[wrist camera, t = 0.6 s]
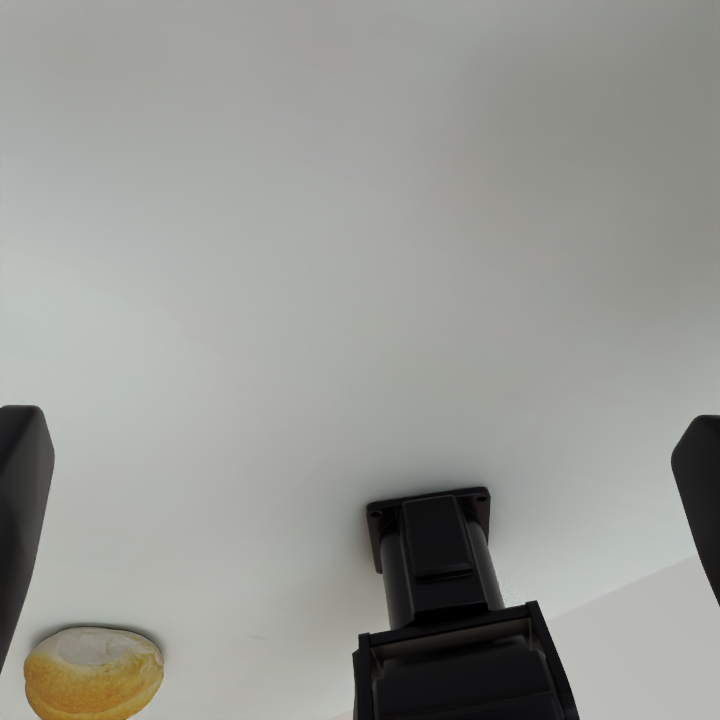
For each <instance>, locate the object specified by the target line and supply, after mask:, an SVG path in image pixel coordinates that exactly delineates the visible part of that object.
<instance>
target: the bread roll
mask: <svg viewBox="0 0 720 720" xmlns="http://www.w3.org/2000/svg"><path fill="white" fill-rule="evenodd" d="M163 664H164V661H163V657H162V655H161V653H160V651H159V650H158V648H157V647H156V645H155V644H154V643H152V642H151V641H149V640H148V639H146V638H144V637H143V636H140V635H138V634H136V633H133V632H128V631H122V630H112V629H106V628H99V627H78V628H70V629H67V630H62V631H60V632H58V633H56V634H54V635H52V636H50V637H49V638H47V639H45V640H43V641H42V642H40V643H39V644H38V645H37V646H36V647H35V648H34V649H33V650H32V651H31V653H30V654H29V655H28V657H27V658H26V660H25V662H24V677H25V680H26V683H25V692H26V697H27V699H28V702H29V704H30V706H31V707H32V709H33V710H34V712H35V713H36V714H37V715H38V716H39V717H40V718H41V719H42V720H126V719H127V718H129V717H130V716H132V715H134V714H136V713H137V712H139V711H140V710H142V709H143V708H144V707H145V706H146V705H147V704H148V703H149V702H150V700H151V699H152V698H153V696H154V695H155V693H156V692H157V690H158V689H159V687H160V685H161V682H162V679H163Z"/></svg>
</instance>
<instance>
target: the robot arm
mask: <svg viewBox="0 0 720 720" xmlns="http://www.w3.org/2000/svg"><path fill="white" fill-rule="evenodd" d="M54 461H55V455H54V448H53V444H52V441H51V437H50V434H49V430H48V427H47V424H46V420H45V417H44V414H43V411H42V410H41V409H40V408H39V407H38V406H34V405H6V406H3V407H1V408H0V674H1V671H2V668H3V665H4V662H5V659H6V656H7V653H8V650H9V647H10V643H11V640H12V637H13V634H14V631H15V628H16V625H17V622H18V619H19V616H20V613H21V610H22V607H23V604H24V601H25V598H26V595H27V591H28V588H29V584H30V581H31V578H32V573H33V569H34V564H35V560H36V555H37V550H38V545H39V540H40V535H41V530H42V525H43V520H44V515H45V509H46V504H47V499H48V494H49V489H50V484H51V479H52V474H53V469H54ZM671 466H672V471H673V474H674V477H675V480H676V484H677V487H678V490H679V493H680V496H681V500H682V503H683V506H684V509H685V513H686V516H687V519H688V522H689V526H690V529H691V532H692V535H693V539H694V542H695V545H696V548H697V551H698V554H699V557H700V560H701V563H702V565H703V567H704V570H705V573H706V575H707V578H708V580H709V582H710V585H711V587H712V590H713V592H714V594H715V597H716V599H717V601H718V604H719V606H720V415H700V416H698V417H696V418H695V419H694V420H693V421H692V422H691V424H690V425H689V427H688V428H687V430H686V431H685V433H684V434H683V436H682V438H681V439H680V441H679V442H678V444H677V445H676V447H675V448H674V450H673V452H672V456H671ZM490 499H491V497H490V494H489V491H488V489H487V488H485V487H476V488H469V489H463V490H456V491H449V492H442V493H435V494H429V495H422V496H415V497H408V498H401V499H395V500H388V501H381V502H374V503H371V504H369V505H368V506H367V507H366V516H367V522H368V528H369V533H370V539H371V545H372V551H373V557H374V562H375V568H376V572H377V573H379V574H383V578H384V586H385V593H386V600H387V607H388V615H389V622H390V629H391V630H390V631H384V632H379V633H374V634H370V633H363V634H359V635H358V639H359V649H358V650H356V651H355V652H354V653H352V656H353V667H354V679H355V698H354V711H353V720H580V719H579V715H578V711H577V708H576V704H575V700H574V697H573V694H572V691H571V688H570V685H569V682H568V679H567V676H566V673H565V671H564V668H563V666H562V663H561V661H560V658H559V656H558V653H557V650H556V648H555V646H554V643H553V641H552V638H551V636H550V633H549V631H548V628H547V625H546V623H545V620H544V617H543V615H542V612H541V610H540V607H539V605H538V602H537V600H535V601H530V602H525V605H520V606H515V607H509V608H505V606H504V602H503V599H502V595H501V592H500V588H499V585H498V581H497V578H496V574H495V571H494V567H493V563H492V560H491V556H490V553H489V549H488V536H489V518H490Z"/></svg>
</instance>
